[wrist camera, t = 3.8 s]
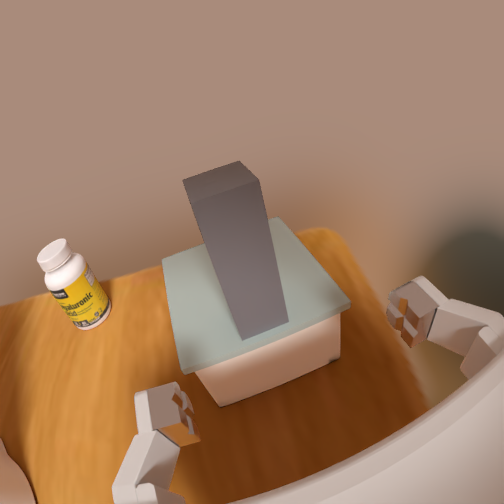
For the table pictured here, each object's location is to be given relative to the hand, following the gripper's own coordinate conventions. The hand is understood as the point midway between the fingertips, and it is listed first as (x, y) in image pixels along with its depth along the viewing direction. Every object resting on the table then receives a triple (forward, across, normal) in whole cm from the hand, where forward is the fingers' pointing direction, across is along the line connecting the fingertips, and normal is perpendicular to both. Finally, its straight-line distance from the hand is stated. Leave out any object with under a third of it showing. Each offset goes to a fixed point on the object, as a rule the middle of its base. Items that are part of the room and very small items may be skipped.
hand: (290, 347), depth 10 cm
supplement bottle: (+22, +17, +13) cm, 31 cm away
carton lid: (+11, 0, +6) cm, 13 cm away
